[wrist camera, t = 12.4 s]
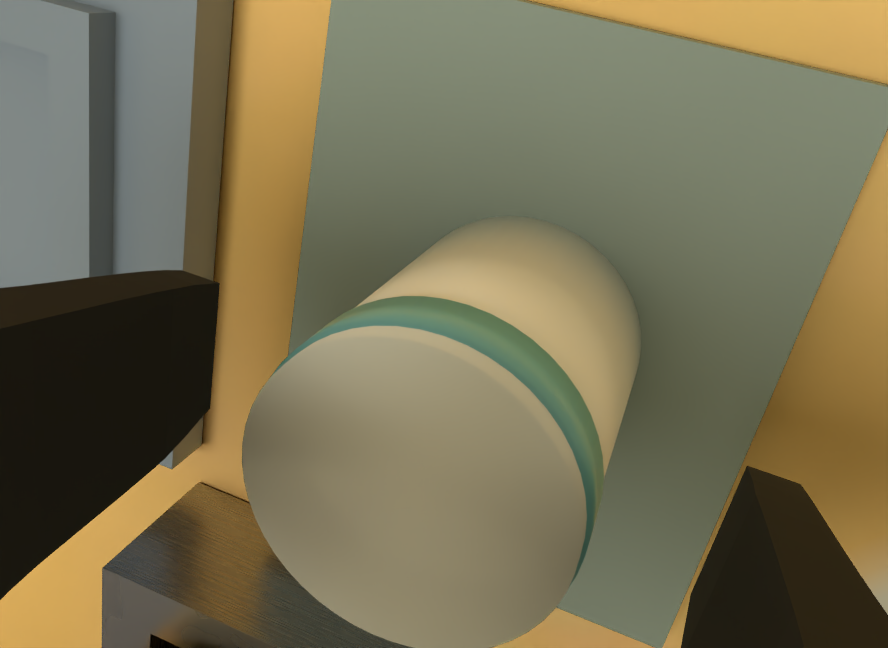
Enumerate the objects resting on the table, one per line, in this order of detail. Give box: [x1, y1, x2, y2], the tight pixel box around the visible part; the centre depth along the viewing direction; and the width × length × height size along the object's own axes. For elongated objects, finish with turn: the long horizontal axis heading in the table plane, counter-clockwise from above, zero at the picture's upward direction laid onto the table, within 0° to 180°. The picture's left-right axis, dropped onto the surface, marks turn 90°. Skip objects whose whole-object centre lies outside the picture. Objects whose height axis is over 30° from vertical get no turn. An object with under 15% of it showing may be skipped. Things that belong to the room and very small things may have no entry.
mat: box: [288, 0, 888, 648], centre depth 14 cm, size 10×8×1 cm
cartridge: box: [242, 216, 641, 648], centre depth 11 cm, size 4×4×5 cm
